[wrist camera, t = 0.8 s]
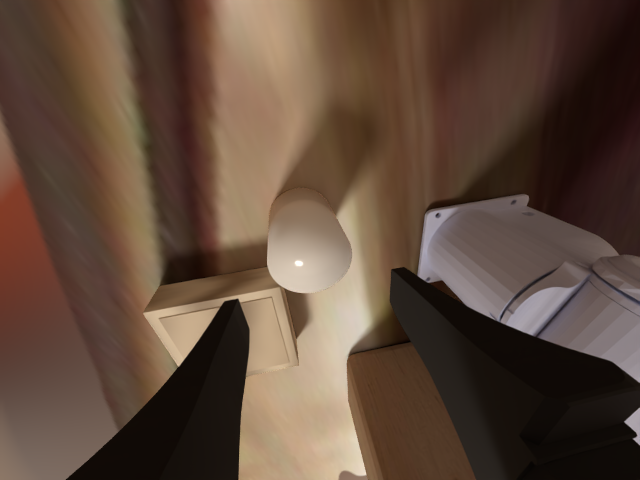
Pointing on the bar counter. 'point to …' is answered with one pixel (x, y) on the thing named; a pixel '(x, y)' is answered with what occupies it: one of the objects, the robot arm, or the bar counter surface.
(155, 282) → the bar counter surface
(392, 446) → the wooden block
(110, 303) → the bar counter surface
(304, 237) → the white rounded cylinder
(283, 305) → the base
